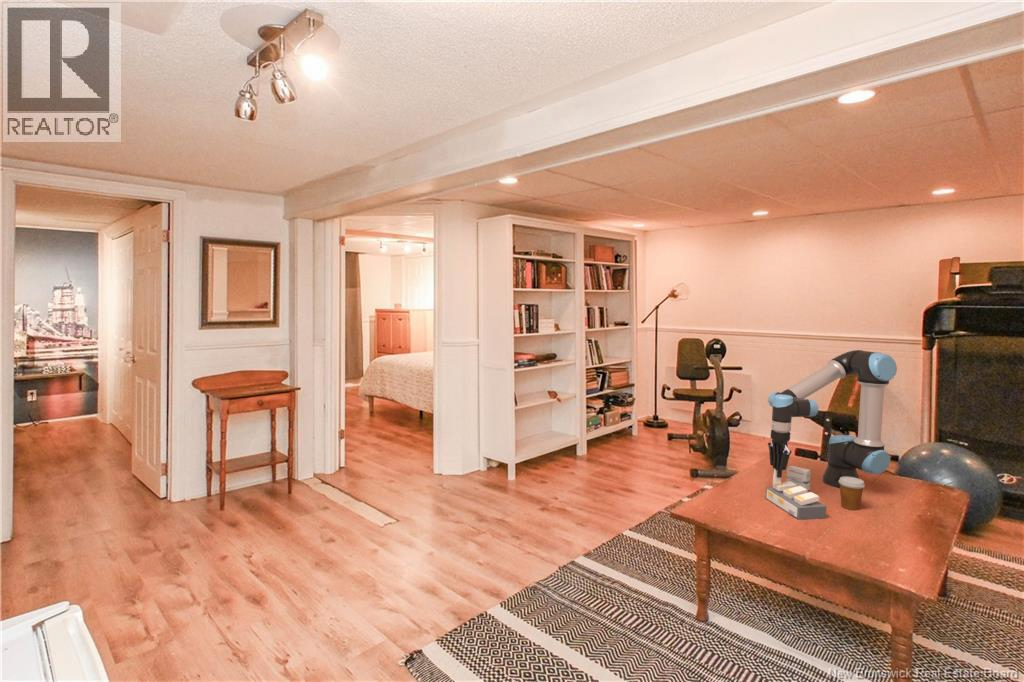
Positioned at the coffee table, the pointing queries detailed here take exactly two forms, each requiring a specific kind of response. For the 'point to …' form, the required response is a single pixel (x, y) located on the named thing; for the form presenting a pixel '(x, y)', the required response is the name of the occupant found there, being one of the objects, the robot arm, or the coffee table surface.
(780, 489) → the rocker
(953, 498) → the coffee table surface
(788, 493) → the rocker
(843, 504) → the disposable coffee cup
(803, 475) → the ink box
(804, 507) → the switch unit
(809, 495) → the block
